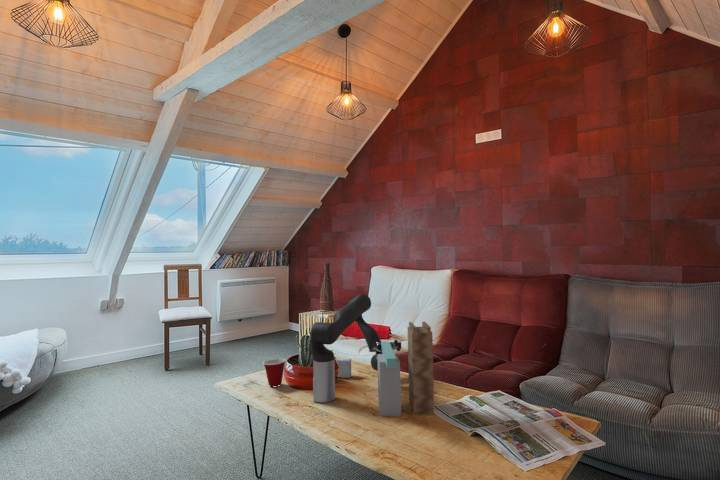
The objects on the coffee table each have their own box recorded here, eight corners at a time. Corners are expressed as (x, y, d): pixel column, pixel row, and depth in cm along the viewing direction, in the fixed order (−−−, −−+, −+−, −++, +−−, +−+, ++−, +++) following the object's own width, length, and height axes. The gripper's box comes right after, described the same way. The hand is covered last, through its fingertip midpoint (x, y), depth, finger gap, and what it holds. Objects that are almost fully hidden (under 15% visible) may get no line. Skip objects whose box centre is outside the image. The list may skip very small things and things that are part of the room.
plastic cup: (275, 380, 209) (274, 356, 209) (290, 384, 203) (290, 359, 203) (258, 386, 200) (257, 361, 200) (274, 390, 194) (273, 364, 194)
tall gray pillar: (380, 416, 163) (379, 362, 163) (378, 404, 175) (377, 354, 175) (401, 415, 163) (399, 361, 163) (397, 403, 175) (396, 353, 175)
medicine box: (351, 375, 214) (351, 358, 214) (350, 378, 210) (350, 360, 210) (336, 375, 215) (336, 358, 215) (335, 377, 211) (334, 360, 211)
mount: (413, 415, 163) (411, 328, 164) (409, 403, 175) (407, 322, 176) (434, 414, 164) (432, 327, 164) (428, 402, 176) (426, 321, 176)
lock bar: (387, 368, 155) (386, 358, 155) (381, 350, 181) (381, 342, 181) (396, 367, 156) (396, 358, 156) (389, 349, 181) (389, 341, 182)
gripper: (367, 344, 194) (368, 333, 180) (398, 343, 194) (401, 333, 180) (368, 361, 190) (369, 351, 176) (399, 360, 191) (403, 350, 177)
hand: (385, 342), depth 178 cm, fingers open, 8 cm apart
